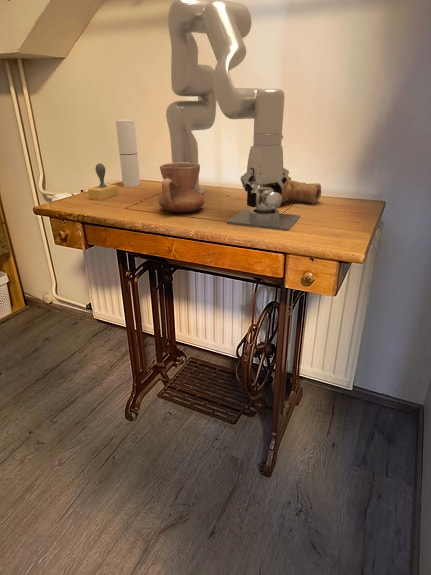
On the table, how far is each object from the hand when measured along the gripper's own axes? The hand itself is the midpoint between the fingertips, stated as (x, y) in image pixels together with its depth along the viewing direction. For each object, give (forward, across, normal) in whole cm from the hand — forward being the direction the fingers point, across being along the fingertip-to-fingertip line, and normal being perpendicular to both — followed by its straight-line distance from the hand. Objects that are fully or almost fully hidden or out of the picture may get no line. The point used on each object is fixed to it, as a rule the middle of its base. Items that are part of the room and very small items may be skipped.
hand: (264, 203), depth 112 cm
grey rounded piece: (+4, 0, +1) cm, 4 cm away
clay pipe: (+5, -20, -10) cm, 23 cm away
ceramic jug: (+5, +13, -24) cm, 28 cm away
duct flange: (+5, 0, 0) cm, 5 cm away
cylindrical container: (+6, +8, -73) cm, 73 cm away
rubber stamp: (+6, +25, -59) cm, 64 cm away
